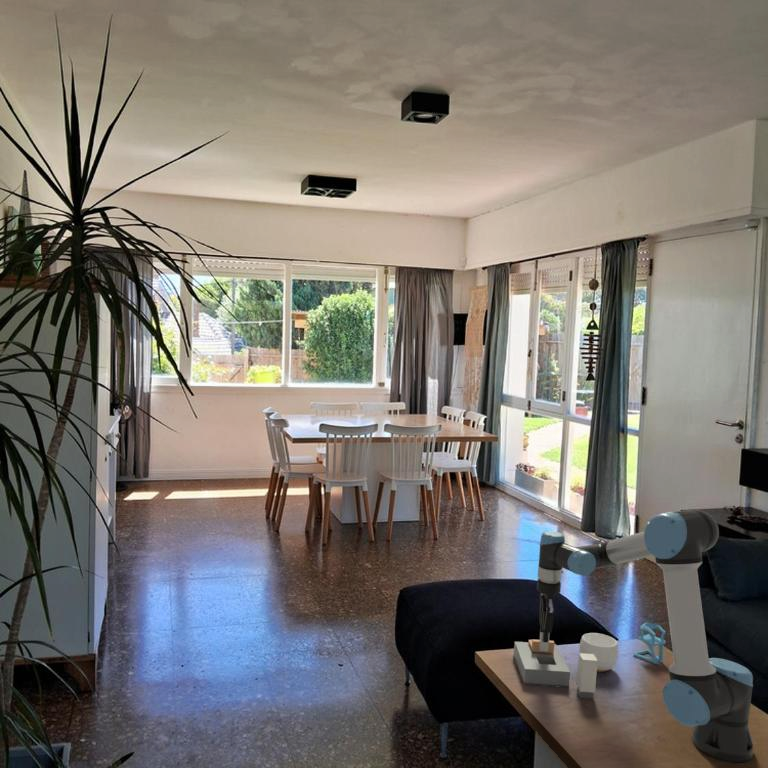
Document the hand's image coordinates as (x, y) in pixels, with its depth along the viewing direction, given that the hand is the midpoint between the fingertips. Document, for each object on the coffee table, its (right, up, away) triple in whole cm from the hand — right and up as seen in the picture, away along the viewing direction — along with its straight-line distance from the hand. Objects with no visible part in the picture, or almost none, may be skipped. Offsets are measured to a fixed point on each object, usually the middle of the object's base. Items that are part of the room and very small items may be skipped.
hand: (543, 650), depth 237 cm
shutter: (0, -1, +4) cm, 4 cm away
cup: (+19, -8, +4) cm, 20 cm away
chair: (+40, -8, +13) cm, 43 cm away
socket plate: (-1, -6, -1) cm, 7 cm away
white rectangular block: (+9, -8, -15) cm, 20 cm away
